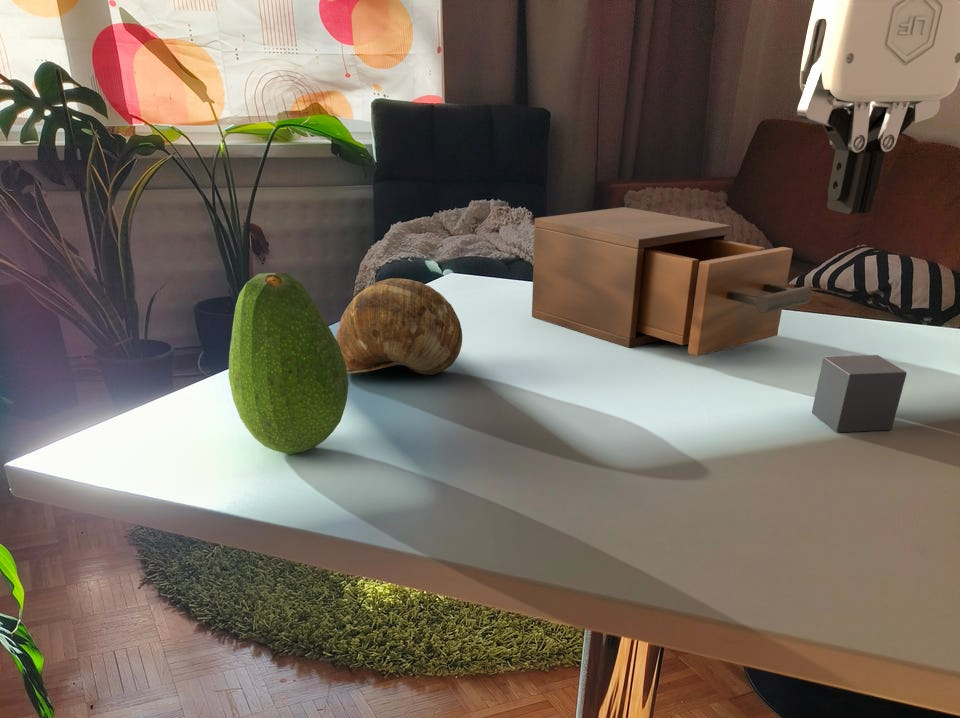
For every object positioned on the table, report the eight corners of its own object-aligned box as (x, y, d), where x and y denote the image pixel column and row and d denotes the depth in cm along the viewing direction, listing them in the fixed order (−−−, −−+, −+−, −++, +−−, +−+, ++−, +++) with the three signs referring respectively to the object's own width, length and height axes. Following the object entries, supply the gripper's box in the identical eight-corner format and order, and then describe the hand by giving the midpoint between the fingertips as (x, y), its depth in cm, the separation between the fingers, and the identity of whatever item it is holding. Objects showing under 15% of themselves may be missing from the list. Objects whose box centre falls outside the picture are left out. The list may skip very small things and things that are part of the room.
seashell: (478, 366, 80) (479, 272, 76) (435, 398, 73) (432, 296, 69) (368, 352, 84) (361, 261, 79) (316, 381, 77) (306, 283, 72)
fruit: (375, 440, 65) (363, 265, 58) (315, 480, 59) (294, 290, 52) (283, 423, 68) (262, 255, 61) (217, 460, 62) (185, 278, 55)
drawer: (819, 346, 82) (838, 256, 78) (738, 369, 77) (754, 273, 72) (672, 308, 94) (682, 228, 90) (593, 324, 89) (599, 240, 84)
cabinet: (716, 327, 91) (731, 225, 86) (628, 347, 85) (639, 239, 80) (616, 300, 101) (624, 207, 96) (531, 316, 95) (534, 218, 90)
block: (863, 410, 71) (877, 354, 68) (891, 430, 67) (907, 372, 65) (811, 412, 70) (823, 356, 68) (836, 432, 67) (850, 374, 64)
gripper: (845, -122, 52) (785, 224, 62) (1058, -112, 55) (967, 215, 65) (777, -105, 58) (732, 208, 68) (973, -97, 61) (902, 200, 71)
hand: (847, 210), depth 66 cm, fingers closed
